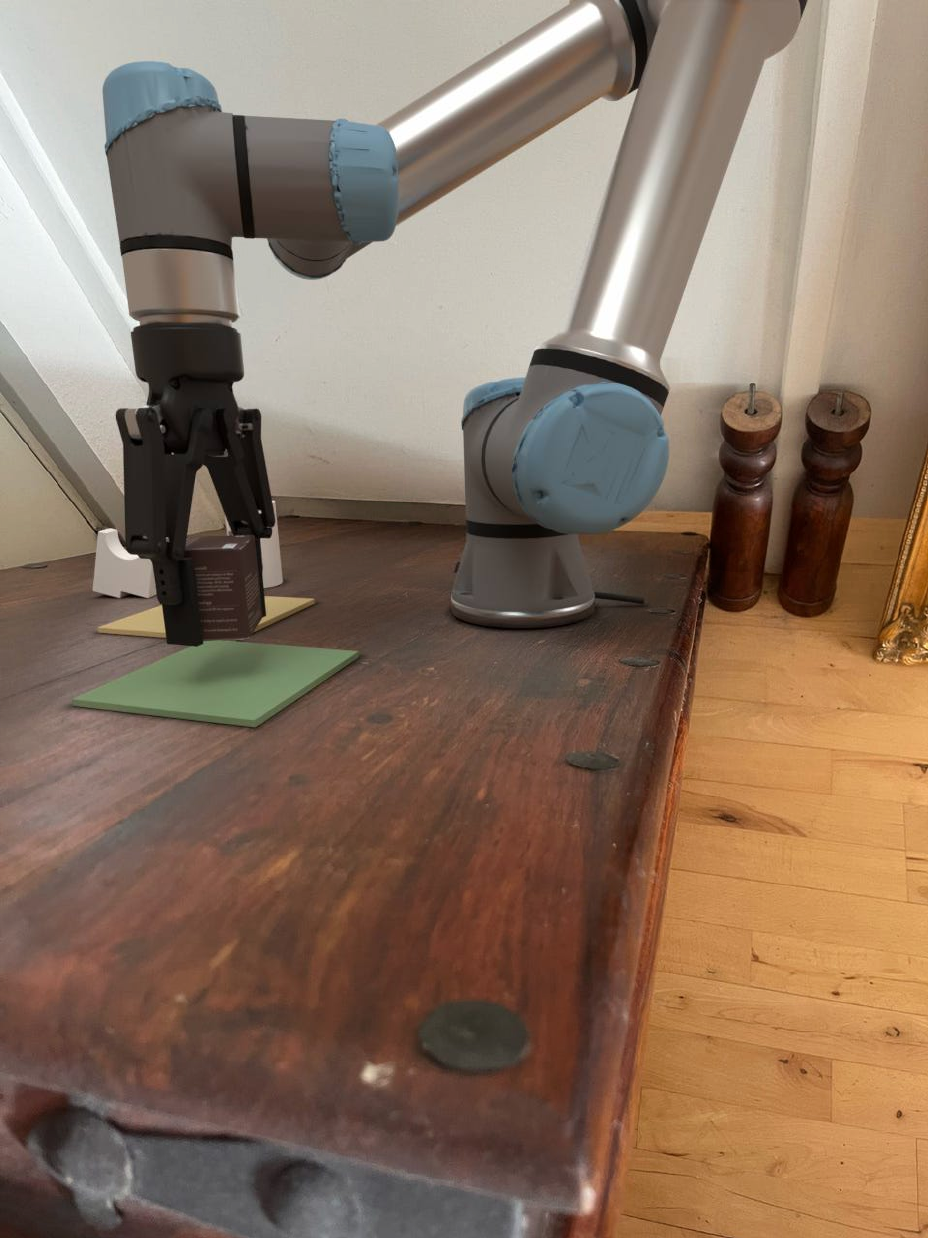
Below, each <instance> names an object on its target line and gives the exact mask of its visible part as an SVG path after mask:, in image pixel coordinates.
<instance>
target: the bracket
mask: <svg viewBox="0 0 928 1238" xmlns="http://www.w3.org/2000/svg"><path fill="white" fill-rule="evenodd" d="M118 534H119V531H118V529H115V528H106V529H102V530H99V531H97V538H96V539H97V540H96V551H95V560H94V570H93V571H94V572H93V581H92V592H96V593H99V594H103V595H105V596H111V597H114V598H118V599H121V598H125V596H128V595H135V596H139V597H143V598H146V599H149V598H151V597H154V596H157V594H156V587H155V585H156V584H155V579H154V571H153V565H152V562H151V560H150V559H141V558H139V556H138V555H131V554H129V553H128V552H127V550H126V548H124V546H123V545H122V544H121V541H120V538H119V535H118Z"/></svg>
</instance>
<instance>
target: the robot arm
mask: <svg viewBox="0 0 928 1238" xmlns="http://www.w3.org/2000/svg"><path fill="white" fill-rule="evenodd" d="M808 1H809V0H569V2H568V4H567V5H565V6H563V7H562V8H561V9H559V10H557V11H556V12H554V13H552V14H551V15H549V16H548V17H546V18H545V19H543V20H541V21H540V22H538V23H536V24H534V25H533V26H532V27H530V28H528V29H527V30H525V31H523V32H522V33H520V34H519V35H517V36H515V37H514V38H512V39H511V40H510V41H508V42H506V43H504V44H503V45H501V46H500V47H498V48H497V49H495V50H494V51H492V52H490V53H488V54H487V55H486V56H484V57H482V58H481V59H478V60H477V61H475V62H474V63H473V64H471V65H470V66H468V67H466V68H465V69H463V70H461V71H460V72H458V73H457V74H455V75H453V76H452V77H450V78H449V79H447V80H445V81H444V82H442V83H440V84H439V85H437V86H435V87H434V88H432V89H431V90H429V91H427V92H426V93H424V94H422V95H421V96H420V97H418V98H416V99H415V100H413V101H411V102H410V103H409V104H407V105H405V106H404V107H402V108H401V109H399V110H397V111H396V112H394V113H392V114H391V115H389V116H388V117H386V118H384V119H383V120H382V121H379V122H378V123H376V124H369V123H363V122H357V121H349V120H348V119H346V118H336V119H335V120H331V119H312V118H293V117H275V116H274V117H273V116H259V115H258V116H257V115H256V116H255V115H243V114H239V115H238V114H233V113H232V112H223V107H222V105H221V104H220V101H219V95H218V92H217V90H216V88H215V86H214V85H213V83H212V82H211V81H210V80H209V79H208V78H207V77H205V76H204V75H202V74H201V73H199V72H197V71H195V70H193V69H191V68H188V67H177V66H173V65H172V64H170V63H169V62H162V61H153V60H147V61H146V60H145V61H133V62H128V63H125V64H121V65H120V66H118V67H116V68H114V69H113V70H111V71H110V72H109V73H108V75H107V76H106V77H105V78H104V81H103V84H102V103H103V116H104V117H103V119H104V129H105V144H104V153H105V156H106V160H107V167H108V173H109V180H110V186H111V194H112V202H113V207H114V214H115V215H114V216H115V222H116V228H117V236H118V242H119V251H120V256H121V260H122V269H123V276H124V283H125V284H124V285H125V292H126V300H127V308H128V315H129V317H131V319H133V320H134V321H136V322H138V323H139V325H137V326H134V327H133V328H132V330H131V331H130V340H131V348H132V355H133V362H134V368H135V369H134V370H135V376H136V377H137V379H138V380H140V381H141V382H143V383H146V384H148V394H147V399H146V404H145V405H144V406H140V407H123V408H117V410H116V411H115V421H116V425H117V428H118V432H119V435H120V439H121V443H122V453H123V454H122V462H123V464H122V465H123V500H124V505H123V507H124V542H125V543H124V545H125V550H126V551H127V552H128V553H129V554H131V555H138V556H139V558H141V559H150V560H151V562H152V565H153V571H154V579H155V584H156V585H155V587H156V599H157V601H158V603H159V605H162V610H163V617H164V625H165V632H166V638H165V639H166V644H167V645H172V646H184V647H190V646H194V647H198V646H200V645H202V644H203V635H202V627H201V618H200V610H199V601H198V593H197V584H196V576H195V567H194V559H193V558H183V557H184V552H185V546H186V539H187V537H188V532H189V531H188V530H189V525H190V519H191V511H192V504H193V498H194V497H193V496H194V491H195V483H196V478H197V472H198V471H199V470H200V469H202V467H203V466H204V467H205V468H206V469H207V471H208V474H209V477H210V479H211V482H212V484H213V487H214V489H215V492H216V496H217V498H218V500H219V502H220V503H219V504H220V505H221V508H222V511H223V514H224V517H225V516H226V519H227V521H228V524H229V527H230V529H231V532H232V534H233V535H254V536H255V545H256V554H257V564H258V575H259V585H260V598H261V609H262V618H263V617H265V616H266V607H265V597H264V596H265V588H264V586H263V576H262V572H263V564H262V553H261V542H260V538H268V539H269V538H271V536H272V527H274V525H275V514H274V509H273V503H272V501H273V499H272V493H271V487H270V482H269V476H268V469H267V465H266V457H265V454H264V448H263V442H262V413H261V411H260V409H259V408H242V407H240V406H239V404H238V401H237V400H236V397H235V394H234V389H233V386H234V383H238V382H240V381H242V380H243V379H244V377H245V367H244V357H243V356H244V355H243V346H242V335H241V333H240V332H238V329H237V328H236V327H233V323H236V322H237V321H238V320H239V319H240V308H239V307H240V306H239V299H238V298H239V297H238V290H237V289H238V288H237V287H238V286H237V279H236V271H235V262H234V252H233V249H232V247H233V246H232V245H233V238H244V239H248V240H249V239H266V240H267V243H268V244H267V245H268V248H269V249H270V251H271V253H272V255H273V256H274V257H273V258H274V259H275V260H276V261H277V263H278V264H279V265H280V266H281V267H282V268H283V269H284V270H286V272H288V273H289V274H291V275H293V276H295V277H296V278H299V279H302V280H307V281H308V280H309V281H315V280H321V279H324V278H327V277H329V276H331V275H333V274H334V273H337V272H338V271H339V270H340V269H341V268H342V267H343V265H344V263H346V262H347V259H349V258H351V257H352V256H353V255H355V254H357V253H358V252H359V251H361V250H363V249H364V248H365V247H367V246H369V245H371V244H372V243H375V242H385V241H386V242H387V241H388V240H389V239H391V237H392V236H393V235H394V233H395V231H396V227H398V226H399V225H401V224H402V223H404V222H406V221H407V220H409V219H410V218H412V217H414V216H415V215H417V214H418V213H420V212H421V211H423V210H424V209H427V208H428V207H429V206H431V205H432V204H434V203H436V202H437V201H439V200H440V199H442V198H443V197H445V196H447V195H449V194H450V193H452V192H453V191H454V190H456V189H458V188H459V187H461V186H463V185H465V184H466V183H467V182H469V181H471V180H472V179H474V178H475V177H477V176H479V175H481V174H482V173H483V172H485V171H487V170H488V169H489V168H491V167H493V166H495V165H497V163H499V162H501V161H502V160H504V159H506V158H507V157H509V156H510V155H512V154H513V153H515V152H516V151H518V150H520V149H521V148H523V147H524V146H526V145H528V144H529V143H531V142H533V141H534V140H536V139H538V138H539V137H541V136H542V135H544V134H545V133H547V132H548V131H550V130H551V129H553V128H555V127H556V126H558V125H559V124H561V123H563V122H564V121H566V120H568V119H569V118H570V117H572V116H574V115H576V114H577V113H578V112H580V111H582V110H583V109H585V108H587V107H588V106H590V105H592V104H593V103H594V102H596V101H598V100H599V99H601V98H602V99H604V100H605V101H608V102H617V101H620V100H622V99H624V98H625V97H627V96H628V95H630V94H631V93H633V92H634V91H636V90H637V91H636V94H635V97H634V101H633V103H632V106H631V110H630V113H629V116H628V117H627V122H626V125H625V128H624V131H623V134H622V137H621V139H620V143H619V146H618V150H617V152H616V155H615V159H614V162H613V165H612V167H611V171H610V174H609V177H608V181H607V182H606V183H607V184H606V187H605V189H604V193H603V196H602V199H601V202H600V205H599V209H598V211H597V215H596V217H595V220H594V224H593V227H592V231H591V233H590V236H589V238H588V239H589V240H588V242H587V246H586V249H585V250H584V251H585V252H584V254H583V258H582V261H581V264H580V267H579V270H578V274H577V277H576V280H575V283H574V286H573V289H572V292H571V295H570V297H569V301H568V304H567V307H566V310H565V313H564V317H563V320H562V323H561V326H560V329H559V331H558V333H557V334H556V335H554V336H553V337H551V338H549V339H547V340H545V341H544V342H542V343H540V344H538V345H537V346H535V348H534V350H533V354H532V357H531V359H530V363H529V364H528V365H529V366H528V368H527V372H526V375H525V377H524V376H523V377H512V378H506V379H501V380H498V381H490V382H485V383H482V384H479V385H476V386H475V387H473V388H472V389H469V391H468V392H467V393H466V394H465V396H464V399H463V407H462V409H463V410H462V417H461V420H460V421H461V422H460V424H461V430H462V436H463V438H462V439H463V468H464V469H463V470H464V472H463V473H464V501H465V503H464V504H465V506H464V507H465V532H466V533H465V534H466V535H465V536H466V537H465V538H466V539H465V544H464V548H463V550H462V554H461V557H460V561H458V562H457V561H456V563H455V567H454V572H453V574H456V575H455V578H454V582H453V586H452V588H451V594H450V605H451V608H450V609H451V614H452V615H453V616H454V617H455V618H457V619H459V620H461V621H464V622H467V623H470V624H475V625H479V626H485V627H492V628H505V629H536V628H549V627H556V626H562V625H568V624H573V623H576V622H579V621H582V620H585V619H587V618H589V617H590V616H592V615H593V614H594V613H595V607H596V606H595V602H596V599H598V600H599V599H600V600H608V601H616V602H625V603H633V604H640V605H643V604H644V603H645V597H641V596H636V595H635V596H634V595H627V594H619V593H612V592H611V593H610V592H602V591H595V590H594V585H593V582H592V579H591V576H590V573H589V570H588V566H587V564H586V563H587V562H586V560H585V556H584V554H583V551H582V547H581V544H580V541H579V535H581V536H582V535H583V536H591V535H599V534H600V535H601V534H605V533H609V532H611V531H615V530H616V529H619V528H620V527H623V526H624V525H626V524H628V523H630V522H631V521H633V520H634V519H635V518H637V517H638V516H639V515H640V514H642V513H643V512H644V510H646V508H647V507H648V506H649V505H650V504H651V502H652V501H653V500H654V499H655V497H656V495H657V494H658V492H659V491H660V489H661V487H662V484H663V483H664V479H665V478H666V473H667V470H668V465H669V460H670V441H669V436H668V435H667V434H666V430H665V426H664V425H665V422H664V420H663V418H662V413H663V411H664V408H665V406H666V402H667V400H668V397H669V394H670V389H671V387H670V384H669V382H668V380H667V377H666V376H665V374H664V372H663V371H662V369H661V359H662V357H663V353H664V351H665V349H666V345H667V342H668V340H669V336H670V334H671V331H672V329H673V325H674V322H675V319H676V316H677V314H678V310H679V308H680V306H681V302H682V300H683V296H684V293H685V290H686V287H687V285H688V282H689V279H690V276H691V274H692V271H693V268H694V265H695V262H696V259H697V256H698V254H699V250H700V248H701V244H702V242H703V239H704V236H705V233H706V231H707V227H708V225H709V222H710V218H711V216H712V213H713V210H714V208H715V205H716V202H717V199H718V195H719V193H720V190H721V187H722V184H723V182H724V179H725V176H726V172H727V170H728V167H729V164H730V162H731V159H732V155H733V153H734V150H735V148H736V145H737V141H738V139H739V136H740V132H741V130H742V127H743V125H744V121H745V119H746V115H747V113H748V110H749V107H750V105H751V102H752V98H753V96H754V92H755V89H756V87H757V84H758V81H759V78H760V75H761V72H762V70H763V66H764V64H765V62H766V60H768V59H770V58H771V57H774V56H775V55H777V54H778V53H780V52H782V51H783V50H784V49H785V48H786V47H787V46H788V45H789V44H790V43H791V42H792V41H793V39H794V38H795V35H796V34H797V31H798V28H799V26H800V24H801V20H802V17H803V15H804V12H805V9H806V7H807V4H808ZM258 510H261V513H259V512H258ZM268 527H269V528H268ZM167 538H168V541H167Z"/></svg>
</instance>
